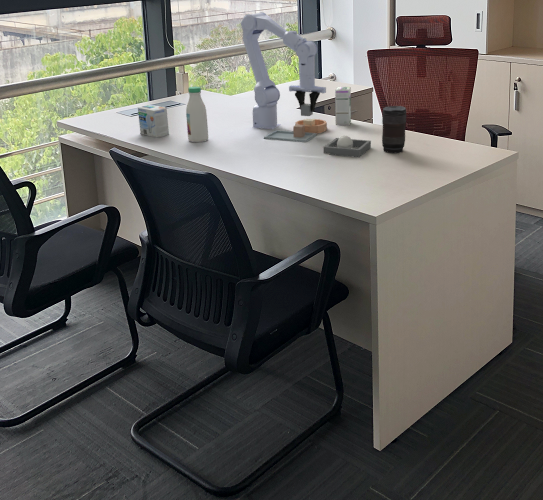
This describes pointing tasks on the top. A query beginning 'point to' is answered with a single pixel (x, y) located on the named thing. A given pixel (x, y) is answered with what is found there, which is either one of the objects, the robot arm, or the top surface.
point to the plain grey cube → (306, 110)
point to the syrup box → (343, 106)
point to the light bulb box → (153, 121)
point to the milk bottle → (196, 116)
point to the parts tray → (288, 136)
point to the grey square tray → (361, 144)
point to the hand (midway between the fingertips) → (307, 110)
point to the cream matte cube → (309, 122)
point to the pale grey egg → (345, 142)
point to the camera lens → (393, 129)
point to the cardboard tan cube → (299, 130)
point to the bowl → (318, 128)
